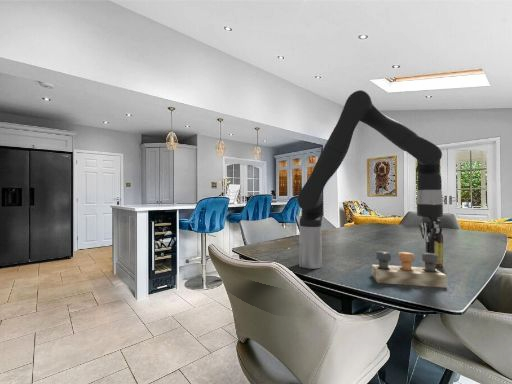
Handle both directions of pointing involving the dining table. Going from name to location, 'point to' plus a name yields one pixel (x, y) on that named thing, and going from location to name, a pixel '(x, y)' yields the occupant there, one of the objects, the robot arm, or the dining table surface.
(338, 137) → the robot arm
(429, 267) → the right knob
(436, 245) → the sauce bottle
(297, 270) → the dining table surface
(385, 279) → the knob mount
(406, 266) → the middle knob
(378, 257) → the left knob
